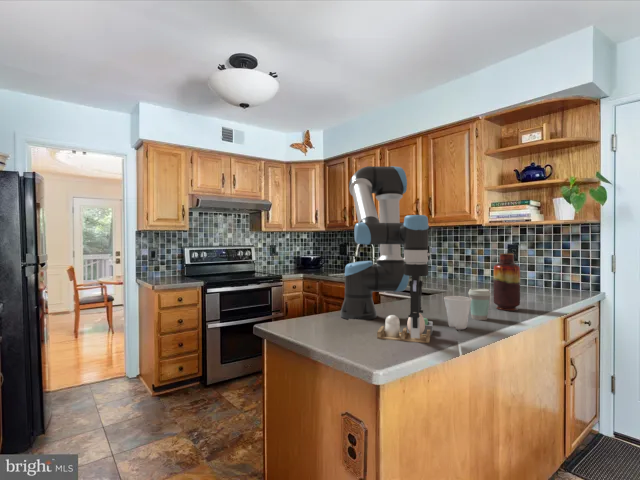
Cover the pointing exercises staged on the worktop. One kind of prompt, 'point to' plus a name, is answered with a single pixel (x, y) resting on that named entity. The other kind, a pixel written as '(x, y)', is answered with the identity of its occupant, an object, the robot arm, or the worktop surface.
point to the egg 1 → (392, 326)
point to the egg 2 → (422, 324)
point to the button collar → (428, 327)
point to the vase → (507, 283)
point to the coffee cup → (479, 303)
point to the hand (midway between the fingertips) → (415, 335)
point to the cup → (457, 311)
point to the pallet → (404, 336)
